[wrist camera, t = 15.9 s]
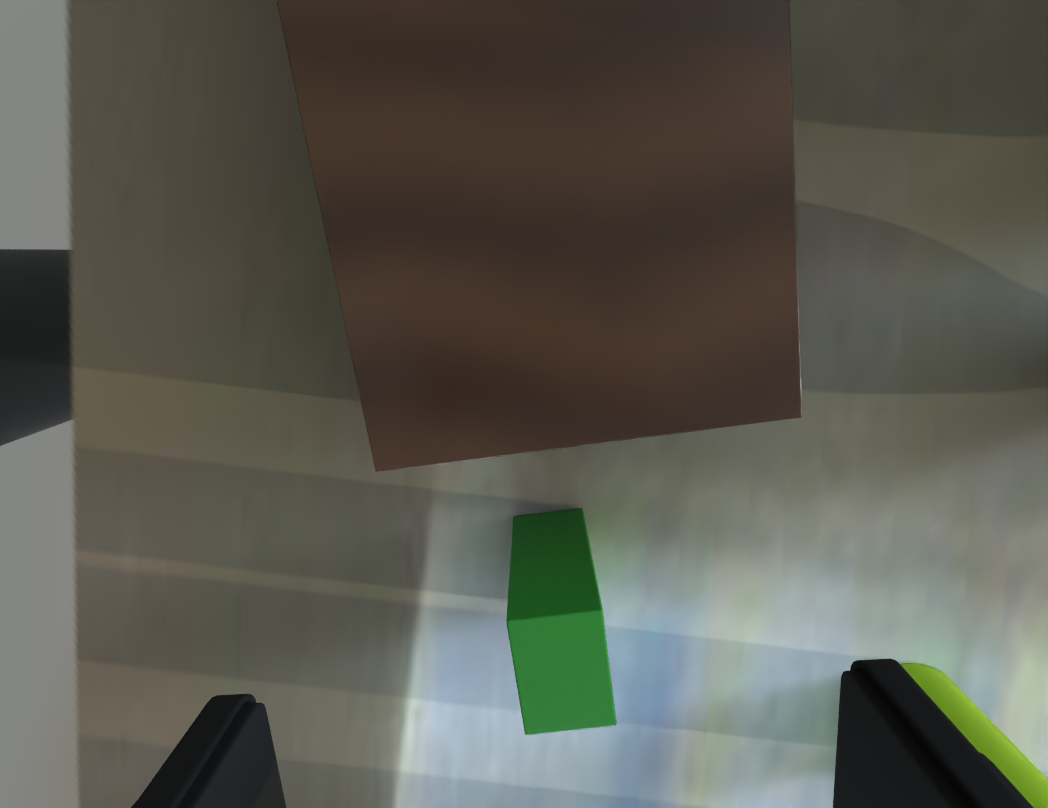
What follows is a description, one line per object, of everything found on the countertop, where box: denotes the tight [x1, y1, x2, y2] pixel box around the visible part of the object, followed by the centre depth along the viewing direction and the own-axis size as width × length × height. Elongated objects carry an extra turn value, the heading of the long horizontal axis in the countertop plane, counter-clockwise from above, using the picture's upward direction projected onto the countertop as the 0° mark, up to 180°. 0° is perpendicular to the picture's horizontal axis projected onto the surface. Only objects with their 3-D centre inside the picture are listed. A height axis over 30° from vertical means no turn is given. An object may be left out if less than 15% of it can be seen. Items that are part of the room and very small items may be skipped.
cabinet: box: [277, 0, 802, 472], centre depth 23 cm, size 15×15×9 cm
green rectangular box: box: [507, 508, 617, 735], centre depth 27 cm, size 5×4×9 cm
